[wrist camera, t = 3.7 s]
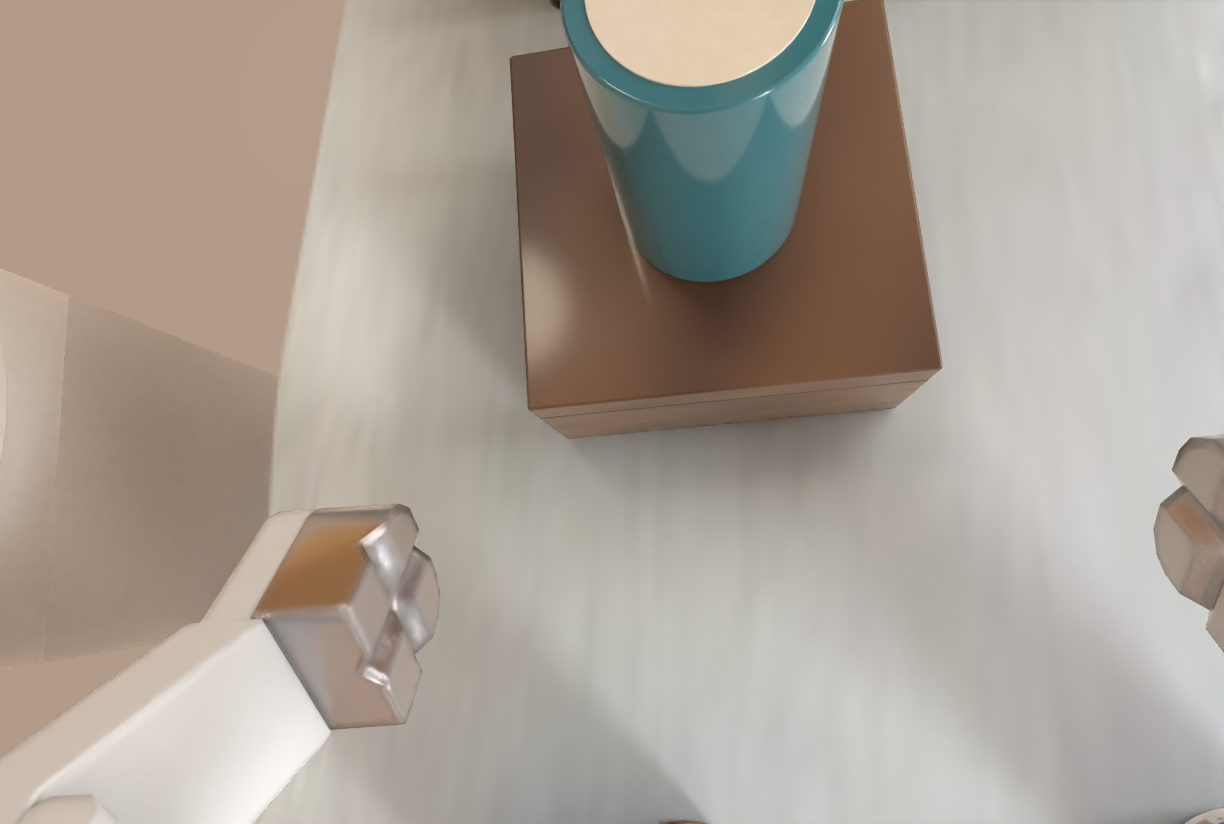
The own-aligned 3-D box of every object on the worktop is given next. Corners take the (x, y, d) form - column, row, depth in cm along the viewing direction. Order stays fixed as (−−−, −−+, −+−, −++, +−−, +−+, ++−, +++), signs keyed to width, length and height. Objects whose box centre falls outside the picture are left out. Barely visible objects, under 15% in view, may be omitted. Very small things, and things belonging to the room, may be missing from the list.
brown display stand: (567, 439, 28) (527, 410, 22) (549, 149, 31) (509, 55, 25) (895, 407, 27) (943, 368, 21) (851, 106, 29) (883, -6, 23)
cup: (627, 293, 23) (567, 130, 14) (614, 131, 24) (550, -116, 15) (809, 271, 22) (867, 85, 13) (787, 106, 23) (828, -169, 14)
